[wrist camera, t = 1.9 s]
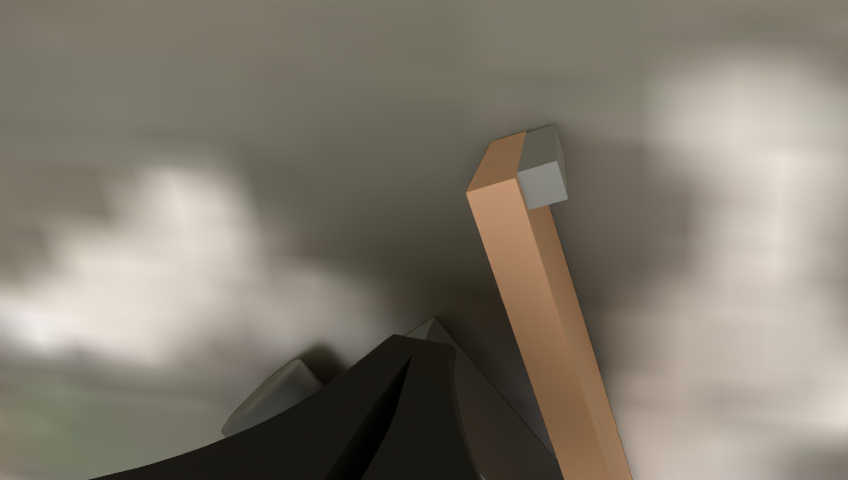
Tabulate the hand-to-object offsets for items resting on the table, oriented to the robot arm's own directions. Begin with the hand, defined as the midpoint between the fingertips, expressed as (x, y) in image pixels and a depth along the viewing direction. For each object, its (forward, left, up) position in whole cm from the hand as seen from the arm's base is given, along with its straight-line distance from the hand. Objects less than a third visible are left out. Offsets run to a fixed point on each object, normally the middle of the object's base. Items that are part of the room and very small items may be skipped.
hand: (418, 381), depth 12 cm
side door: (-4, -1, -6) cm, 8 cm away
